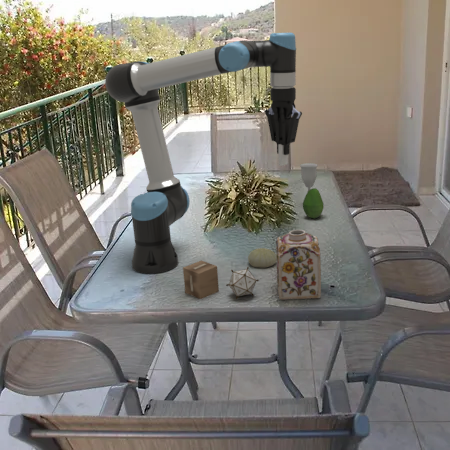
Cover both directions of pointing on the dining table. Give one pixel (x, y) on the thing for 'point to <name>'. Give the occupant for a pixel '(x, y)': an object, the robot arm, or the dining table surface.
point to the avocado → (313, 203)
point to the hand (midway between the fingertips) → (283, 164)
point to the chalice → (308, 174)
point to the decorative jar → (298, 266)
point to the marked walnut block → (201, 279)
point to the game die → (242, 282)
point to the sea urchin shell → (262, 258)
